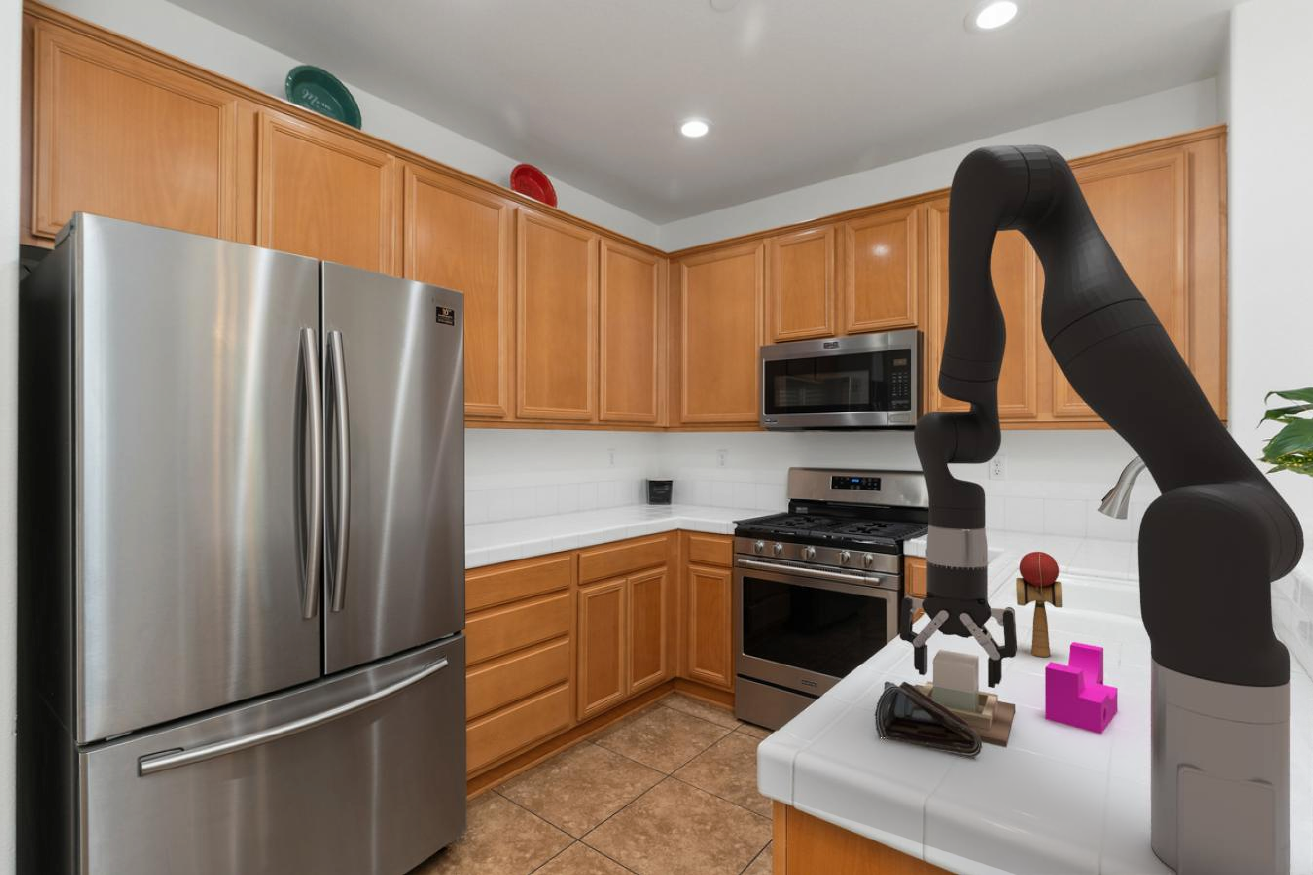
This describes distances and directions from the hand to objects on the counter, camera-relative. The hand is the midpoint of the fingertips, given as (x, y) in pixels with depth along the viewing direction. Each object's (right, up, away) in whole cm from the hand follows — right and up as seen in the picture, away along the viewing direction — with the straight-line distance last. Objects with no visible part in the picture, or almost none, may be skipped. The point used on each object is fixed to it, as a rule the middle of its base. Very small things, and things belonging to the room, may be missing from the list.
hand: (956, 679), depth 87 cm
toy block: (+19, -6, +2) cm, 20 cm away
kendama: (+26, -6, +26) cm, 37 cm away
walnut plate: (0, -5, 0) cm, 5 cm away
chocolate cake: (-3, -7, -9) cm, 11 cm away
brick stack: (0, -4, 0) cm, 4 cm away
